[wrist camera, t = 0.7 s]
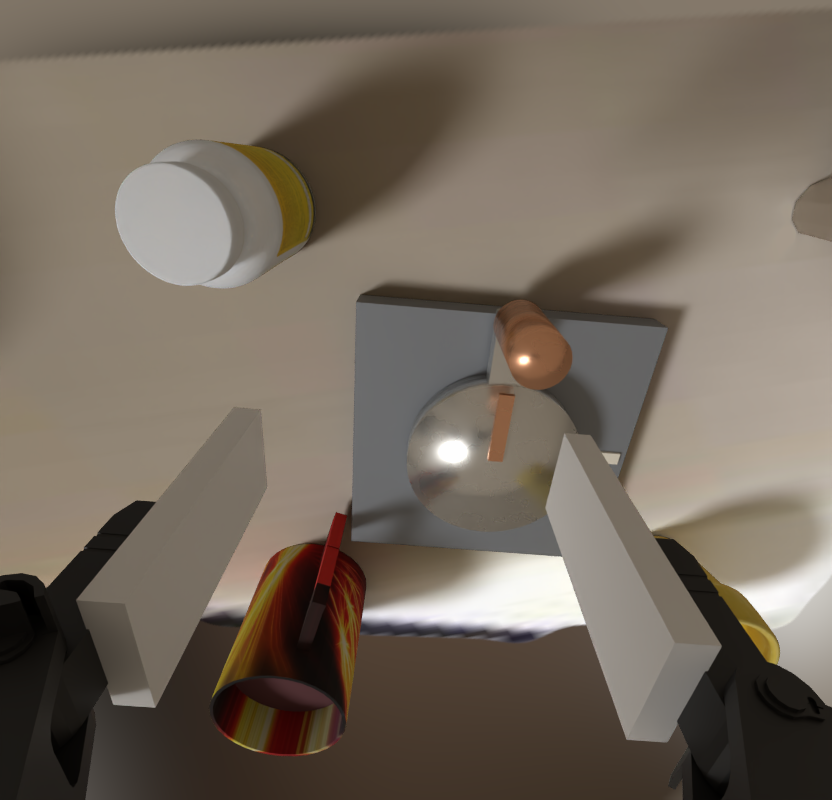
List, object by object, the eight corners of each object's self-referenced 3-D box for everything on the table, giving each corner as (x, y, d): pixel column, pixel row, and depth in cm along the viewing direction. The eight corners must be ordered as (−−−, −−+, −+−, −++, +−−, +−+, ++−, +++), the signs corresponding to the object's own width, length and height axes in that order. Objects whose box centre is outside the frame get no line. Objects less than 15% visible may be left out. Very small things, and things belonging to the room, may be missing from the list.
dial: (554, 519, 36) (584, 602, 29) (402, 508, 36) (396, 588, 29) (613, 300, 29) (674, 341, 22) (421, 284, 28) (419, 321, 21)
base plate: (354, 524, 40) (351, 542, 38) (360, 294, 31) (355, 302, 29) (583, 541, 40) (591, 560, 38) (654, 319, 31) (669, 329, 29)
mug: (348, 502, 39) (318, 628, 28) (374, 614, 45) (357, 753, 34) (238, 511, 40) (167, 637, 29) (278, 620, 46) (232, 758, 35)
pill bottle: (282, 126, 27) (190, 97, 16) (336, 233, 29) (287, 267, 19) (192, 178, 28) (53, 182, 18) (251, 276, 31) (161, 330, 20)
